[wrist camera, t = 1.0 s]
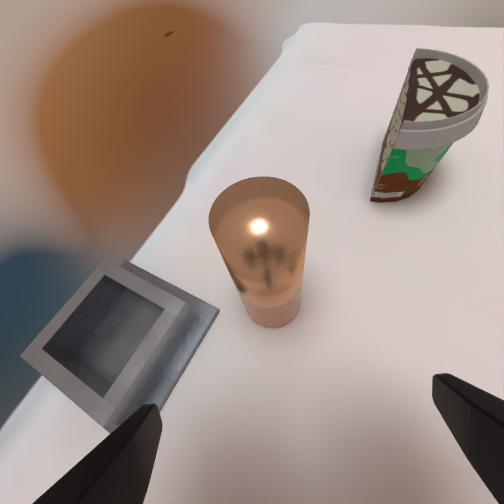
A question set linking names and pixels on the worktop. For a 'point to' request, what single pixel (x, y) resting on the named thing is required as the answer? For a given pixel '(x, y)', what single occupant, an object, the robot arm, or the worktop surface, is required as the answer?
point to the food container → (428, 121)
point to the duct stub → (120, 342)
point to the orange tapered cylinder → (263, 245)
